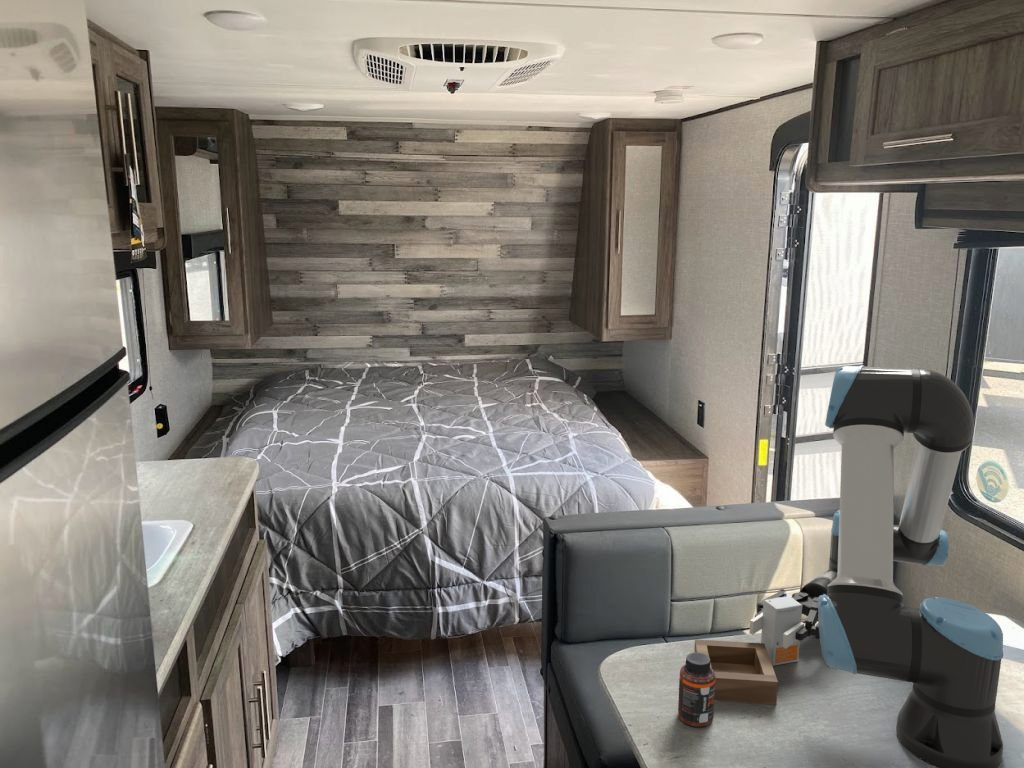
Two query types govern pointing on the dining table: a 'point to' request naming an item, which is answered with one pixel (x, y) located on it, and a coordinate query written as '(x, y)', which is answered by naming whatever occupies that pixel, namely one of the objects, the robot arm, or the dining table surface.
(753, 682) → the walnut tray
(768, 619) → the skincare box
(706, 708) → the supplement bottle
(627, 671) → the dining table surface
